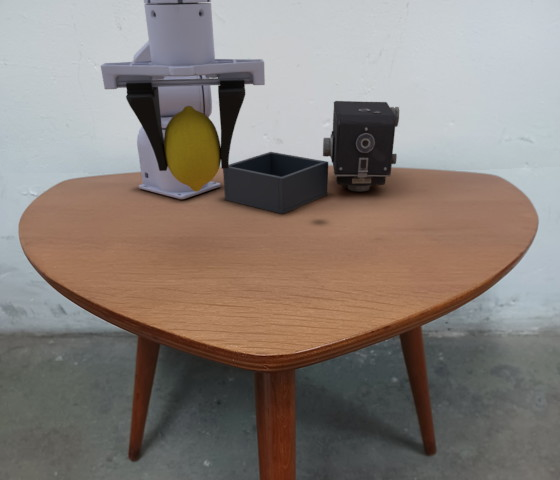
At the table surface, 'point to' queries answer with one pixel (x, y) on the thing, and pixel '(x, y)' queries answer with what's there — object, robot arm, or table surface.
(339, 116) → the camera
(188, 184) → the lemon
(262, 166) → the bin
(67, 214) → the table surface
